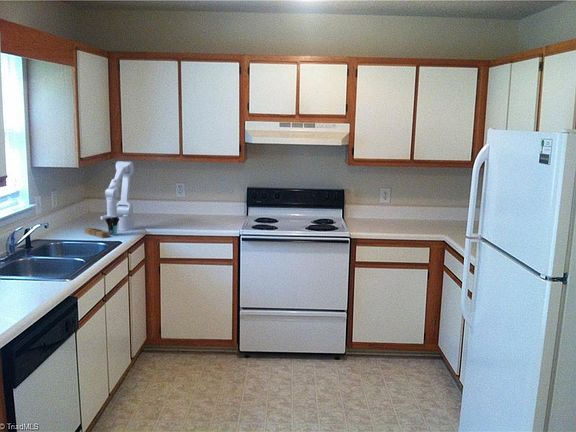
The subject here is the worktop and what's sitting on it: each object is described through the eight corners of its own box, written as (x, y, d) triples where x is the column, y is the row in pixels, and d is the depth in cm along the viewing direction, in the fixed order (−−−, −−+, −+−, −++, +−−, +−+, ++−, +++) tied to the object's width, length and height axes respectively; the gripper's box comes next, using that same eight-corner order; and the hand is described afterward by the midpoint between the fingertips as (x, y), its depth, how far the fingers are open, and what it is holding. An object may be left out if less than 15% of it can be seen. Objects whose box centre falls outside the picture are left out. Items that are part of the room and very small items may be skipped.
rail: (91, 231, 326) (91, 227, 326) (109, 236, 314) (109, 232, 314) (84, 233, 323) (84, 228, 322) (102, 238, 310) (102, 233, 310)
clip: (108, 233, 321) (107, 224, 320) (111, 233, 323) (110, 224, 322) (114, 235, 317) (113, 225, 316) (117, 235, 319) (116, 225, 318)
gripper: (104, 210, 309) (105, 232, 311) (126, 207, 320) (126, 229, 323) (98, 208, 314) (99, 230, 316) (119, 206, 325) (120, 227, 327)
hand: (112, 229), depth 320 cm, fingers closed on clip, 2 cm apart
